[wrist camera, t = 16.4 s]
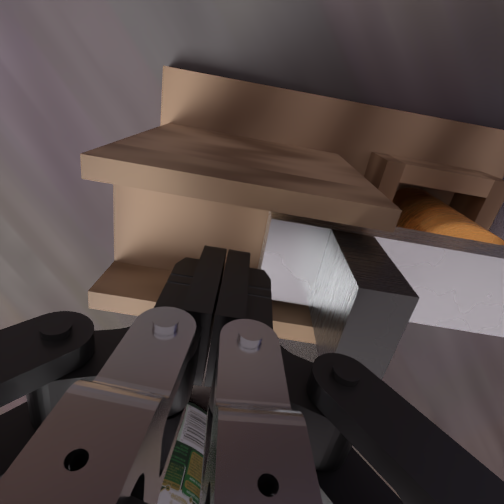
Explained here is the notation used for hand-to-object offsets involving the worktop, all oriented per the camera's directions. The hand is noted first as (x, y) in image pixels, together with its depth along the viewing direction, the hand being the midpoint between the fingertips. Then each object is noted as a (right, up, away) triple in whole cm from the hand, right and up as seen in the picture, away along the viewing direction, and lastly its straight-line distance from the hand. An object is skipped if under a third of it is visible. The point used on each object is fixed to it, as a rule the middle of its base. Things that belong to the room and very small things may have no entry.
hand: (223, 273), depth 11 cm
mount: (+6, +5, +12) cm, 14 cm away
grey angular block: (+7, 0, +3) cm, 8 cm away
